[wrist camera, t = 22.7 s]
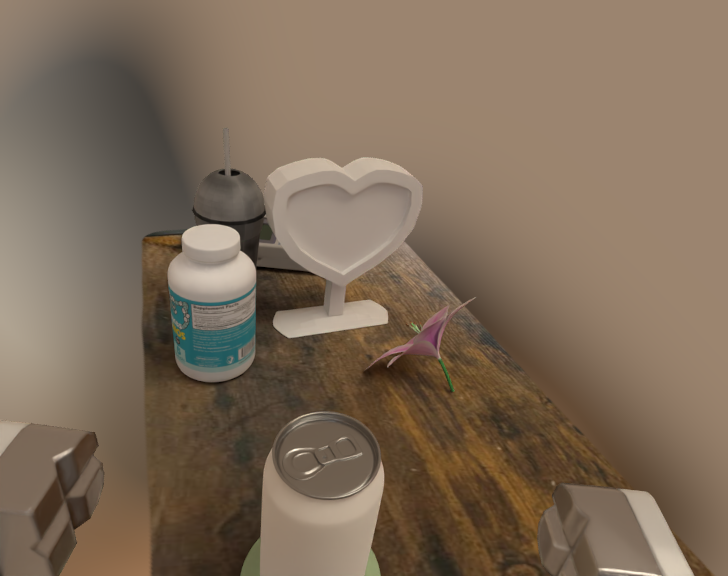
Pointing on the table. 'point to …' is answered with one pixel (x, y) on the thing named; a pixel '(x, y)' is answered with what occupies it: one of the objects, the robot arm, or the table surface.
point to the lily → (426, 339)
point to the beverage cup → (232, 203)
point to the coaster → (252, 563)
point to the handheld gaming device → (273, 251)
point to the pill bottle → (213, 304)
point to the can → (320, 497)
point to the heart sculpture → (339, 232)
